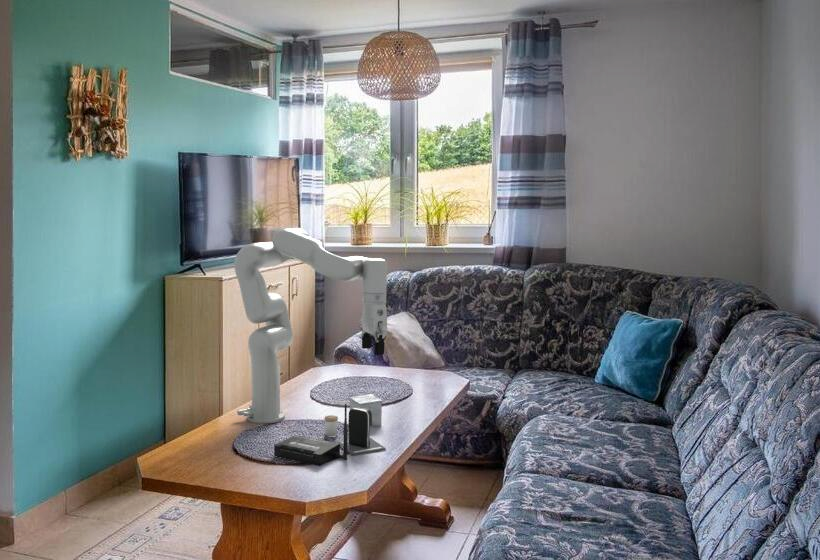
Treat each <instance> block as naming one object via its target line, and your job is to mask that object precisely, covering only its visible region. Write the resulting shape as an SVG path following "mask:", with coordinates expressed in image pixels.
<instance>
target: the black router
mask: <svg viewBox="0 0 820 560" xmlns="http://www.w3.org/2000/svg"><path fill="white" fill-rule="evenodd" d="M347 410H348V409H347V403H345V404H344V422H343V441H344V449H343V452H342V453H343V454H341V447H340V444H339V443H337V442H335V441H334V442H333V441H328V440H322V439H319V438H312V437H308V436H302V435H296V434H294V435H292V436H290V437H288V438H286V439H284V440H282V441H280V442H278V443H276V444H274V446H273V450H274V451H273V454H274V455H273V457H274V456H277V457H276V458H278V457H281V458H280V459H283V458H286V459H285V460H288V459H289V461H292V460H295V461H294V462H297V461H298V463H303V464H307V465H310V466H311V465H312V466H316V467H321V466H324V465H325V464H327V463H329V462H330V461H333V460H334V459H341V460H343V461H348V452H347V441H348V418H347V417H348V416H347V415H348V413H347Z"/></svg>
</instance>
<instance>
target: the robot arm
mask: <svg viewBox="0 0 820 560" xmlns="http://www.w3.org/2000/svg"><path fill="white" fill-rule="evenodd" d="M309 235H310V234H308V232H307V231H306V230H304V229H303V228H300V227H292V228H290V227H288V228H281V229H279V230H277V231H276V232H275V233H274V234H273V236H272V239H271V241H265V242H254V243H252V242H251V243H249V244H247V245H244V246H242V248H240V250H239V251H238V252H237V254H236V256H235V259H234V262H233V264H234V272H235V276H236V278H237V281H238V285H239V288H240V293H241V298H242V303H243V308H244V311H245V315H246V318H247V320H248V321H249V322H250V323H252V324H258V325H259V324H263V323H265V326H262V327H259V328H257V329H255V330H253V331H252V332H251V334H250V335H249V338H248V341H247V342H248V344H247V345H248V351H249V354H250V355H249V356H250V365H251V366H250V368H251V370H250V371H251V373H250V374H251V404H249V405H248V407H246V409H245V408H244V409H243V408H241V409H237V411H236V412H237V416H238V417H239V416H243V417H246V418H247V419H246V420H247V421H248V422H250V423H252V424H261V425H263V424H274V423H278V422H281V421H283V420H284V419H285V417H286V414H285V413H284V412H283V411H281V364H280V361H279V358H278V356H277V353H278V352H280V351H284V350H286V349H288V348H289V347H290V346H291V344H292V343H293V338H294V336H293V334H294V333H293V329H292V324H291V319H290V315H289V311H288V307H287V304H286V301H285V300H284V299H283V297H282V296H281V295H280V294H278V293H275V292H268V289H267V285H266V281H265V278H264V276H263V274H261V272H260V271H259V270H260V269H263V268H269V267H275V266H278V265H279V266H280V265H281V264H284V263H286V262H287V261H289V260H291V259H293V260H296V261H298V262H301V263H304V264H306V265H308V266H310V267H311V268H312V269H313V270H314V271H315V272H317V273H318V274H321V275H322V276H323V277H327V278H328V279H329V278H330V279H332V280H333V281H338V282H341V283H342V282H343V283H346V282H352V281H357V280H362V284H361V285H362V290H361V292H362V293H361V295H362V296H361V298H362V299H361V303H362V304H363V305H362V314H361V321H360V323H361V349H372V345H373V344H372V342H373V341H372V340H373V337H374V339H375V341H374V347H373V348H374V350H373V353H374V355H375V356H383V355H384V354H385V342H386V339H387V334H388V314H387V311H388V310H387V305H386V304H387V285H388V284H387V281H388V280H387V278H388V277H387V276H388V273H387V272H388V262H387V261H386V260H385V259H384V258H377V257H375V258H374V257H373V258H372V257H364V256H359V255H354V256H353V255H352V256H347V257H346V256H345V257H342V256H339V255H337V254H334V253H331V252H329V251H327V250H325V249H324V248H325V247H324V243H323V242H322V241H321V240H318V239H315V238H313V237H311V236H309ZM372 336H373V337H372Z"/></svg>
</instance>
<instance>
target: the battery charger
mask: <svg viewBox="0 0 820 560" xmlns="http://www.w3.org/2000/svg"><path fill="white" fill-rule="evenodd" d="M370 426H372V413H371V411H370V410H369V409H365V408H360V407H355V408H352V409H351V410H350V409H349V411H348V418H347V427H348V441H349V444H352V445H355V446H360V447H368V446H369V445H370V440H369V437H370V432H371V431H370V430H371V429H370V428H371V427H370Z"/></svg>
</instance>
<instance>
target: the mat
mask: <svg viewBox="0 0 820 560" xmlns="http://www.w3.org/2000/svg"><path fill="white" fill-rule="evenodd" d="M369 440H370V445H369V446H368V447H360V446H355V445H352V444H349V440H347V451H348V452H347V454H349V455H351V457H352V456H353V457H354V456H360V455H363V454H370V453H371V454H372V453H376V452H383V451H386V449H387V448H386V447H385V446H383V445H381V444H380V443H379V442H377V441H376V440H374V439H373V438H371V437H370V436H369ZM336 443H339V444H340V446H342V447H343V448H344V440H342V441H340V442H339V441H337V442H336ZM343 448H342V449H343Z"/></svg>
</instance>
